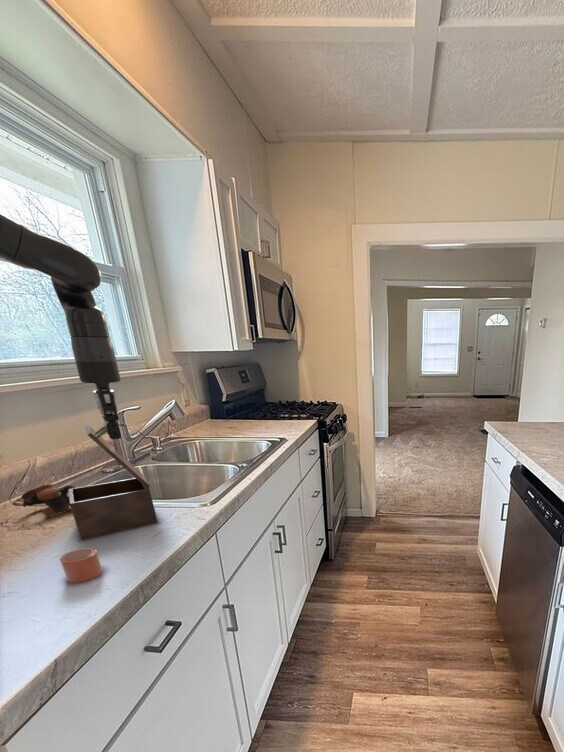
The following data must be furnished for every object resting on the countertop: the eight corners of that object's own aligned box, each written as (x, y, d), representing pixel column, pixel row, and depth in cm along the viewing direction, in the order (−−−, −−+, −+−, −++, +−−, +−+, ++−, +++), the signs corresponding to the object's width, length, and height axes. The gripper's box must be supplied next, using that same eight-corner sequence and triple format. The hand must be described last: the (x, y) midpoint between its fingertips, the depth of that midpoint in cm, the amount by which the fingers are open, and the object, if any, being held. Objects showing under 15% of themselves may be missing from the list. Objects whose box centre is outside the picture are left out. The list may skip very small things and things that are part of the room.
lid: (87, 435, 86) (107, 420, 87) (84, 426, 95) (102, 413, 96) (147, 488, 96) (164, 474, 97) (139, 476, 105) (155, 463, 106)
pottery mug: (34, 523, 101) (13, 495, 99) (41, 527, 109) (21, 501, 107) (85, 500, 107) (66, 473, 105) (89, 505, 115) (71, 480, 113)
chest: (81, 539, 91) (69, 503, 87) (79, 522, 100) (68, 488, 97) (157, 522, 99) (149, 489, 96) (149, 507, 109) (141, 476, 105)
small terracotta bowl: (75, 586, 73) (67, 564, 72) (62, 577, 76) (54, 556, 74) (108, 572, 78) (101, 552, 76) (94, 564, 80) (88, 545, 79)
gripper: (119, 360, 84) (137, 440, 91) (112, 358, 95) (129, 430, 101) (75, 360, 80) (97, 444, 87) (74, 358, 91) (93, 433, 97)
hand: (114, 436), depth 94 cm, fingers closed on lid, 5 cm apart
